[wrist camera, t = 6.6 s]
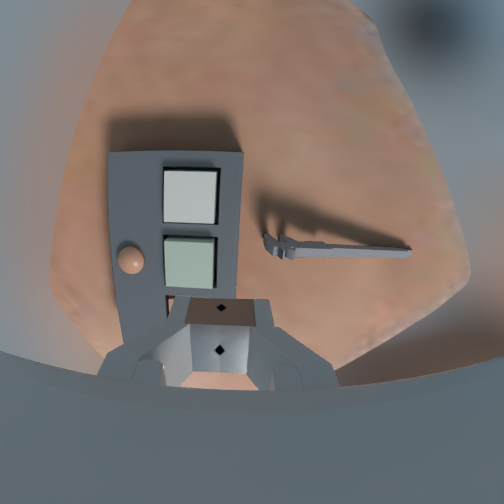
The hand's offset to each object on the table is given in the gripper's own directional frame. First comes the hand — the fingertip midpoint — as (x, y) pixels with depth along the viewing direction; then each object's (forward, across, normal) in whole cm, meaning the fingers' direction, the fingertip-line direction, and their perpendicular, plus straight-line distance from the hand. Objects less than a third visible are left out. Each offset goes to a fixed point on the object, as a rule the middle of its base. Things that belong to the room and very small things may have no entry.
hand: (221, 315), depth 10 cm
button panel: (+25, +6, +8) cm, 27 cm away
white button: (+23, +4, 0) cm, 24 cm away
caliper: (+25, -14, +6) cm, 30 cm away
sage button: (+23, +4, +8) cm, 24 cm away
